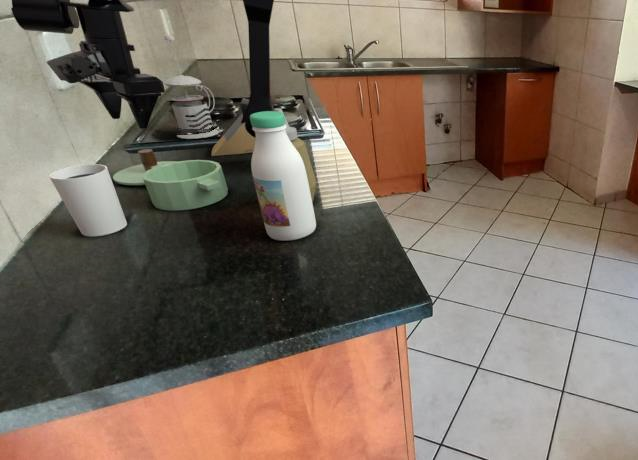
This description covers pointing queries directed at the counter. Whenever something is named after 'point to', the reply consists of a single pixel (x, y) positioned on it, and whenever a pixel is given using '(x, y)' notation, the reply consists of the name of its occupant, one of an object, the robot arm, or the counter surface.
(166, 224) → the counter surface
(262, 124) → the milk bottle
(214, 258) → the counter surface
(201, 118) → the french press
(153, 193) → the pot
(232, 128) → the sandwich container
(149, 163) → the lid
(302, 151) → the squeeze bottle
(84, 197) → the white cup
